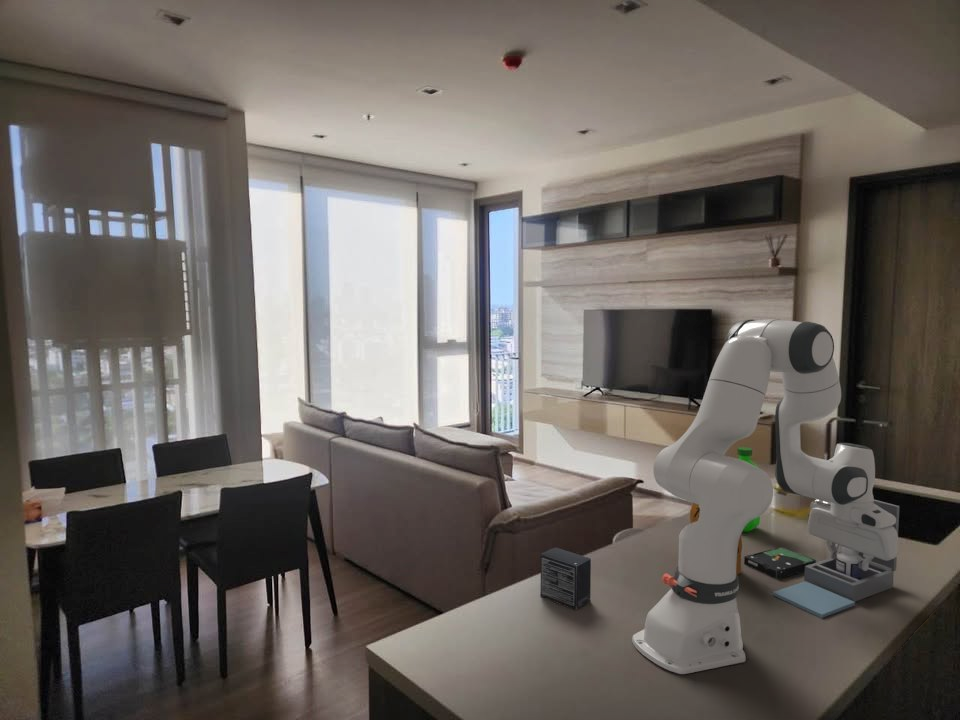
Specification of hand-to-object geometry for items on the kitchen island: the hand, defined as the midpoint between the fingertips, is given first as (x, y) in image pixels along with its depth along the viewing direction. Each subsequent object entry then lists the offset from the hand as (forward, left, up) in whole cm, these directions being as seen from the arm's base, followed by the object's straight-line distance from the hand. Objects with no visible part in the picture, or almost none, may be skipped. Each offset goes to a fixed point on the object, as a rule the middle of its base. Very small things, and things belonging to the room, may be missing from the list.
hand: (849, 564), depth 148 cm
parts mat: (-15, -1, -5) cm, 16 cm away
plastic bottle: (+9, +38, -5) cm, 39 cm away
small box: (-65, +27, -5) cm, 71 cm away
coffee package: (-21, +22, -5) cm, 31 cm away
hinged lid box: (0, 0, -5) cm, 5 cm away
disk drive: (-5, +15, -6) cm, 17 cm away
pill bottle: (0, 0, -5) cm, 5 cm away
